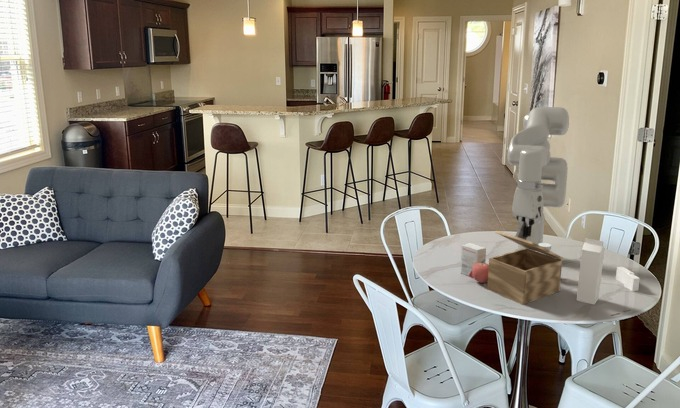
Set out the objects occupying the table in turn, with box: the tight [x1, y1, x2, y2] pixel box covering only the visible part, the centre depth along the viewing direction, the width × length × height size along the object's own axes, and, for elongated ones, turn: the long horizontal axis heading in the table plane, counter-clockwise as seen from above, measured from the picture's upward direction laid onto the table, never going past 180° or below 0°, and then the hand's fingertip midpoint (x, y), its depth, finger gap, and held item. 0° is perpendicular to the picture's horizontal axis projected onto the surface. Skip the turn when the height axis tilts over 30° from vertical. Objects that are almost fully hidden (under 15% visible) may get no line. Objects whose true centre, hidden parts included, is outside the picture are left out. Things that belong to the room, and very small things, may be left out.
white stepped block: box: [615, 266, 641, 292], centre depth 211 cm, size 15×11×6 cm
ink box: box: [460, 242, 487, 279], centre depth 221 cm, size 9×5×12 cm, turn 37°
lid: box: [495, 221, 564, 261], centre depth 204 cm, size 20×16×7 cm
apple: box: [472, 262, 489, 284], centre depth 214 cm, size 7×7×8 cm
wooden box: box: [486, 248, 563, 305], centre depth 206 cm, size 20×16×12 cm
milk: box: [576, 238, 605, 305], centre depth 196 cm, size 6×6×22 cm
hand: (524, 235), depth 201 cm, fingers closed
